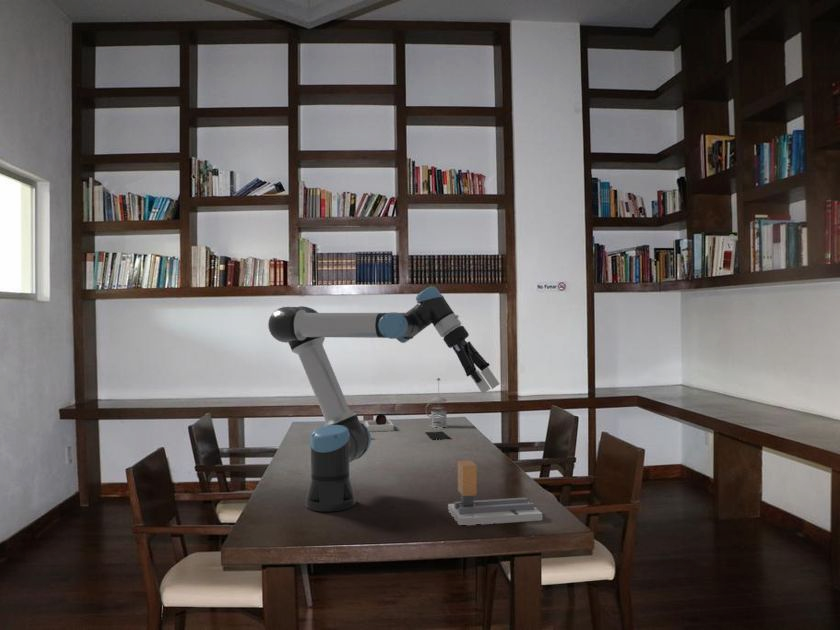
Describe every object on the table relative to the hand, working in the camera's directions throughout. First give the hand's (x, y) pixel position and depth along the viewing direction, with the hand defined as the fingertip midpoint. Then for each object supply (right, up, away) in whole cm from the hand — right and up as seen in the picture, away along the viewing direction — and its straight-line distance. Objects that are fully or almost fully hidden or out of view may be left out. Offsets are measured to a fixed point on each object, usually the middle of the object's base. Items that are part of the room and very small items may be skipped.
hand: (491, 388), depth 196 cm
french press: (-13, -35, +136) cm, 141 cm away
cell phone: (-13, -36, +111) cm, 117 cm away
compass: (-42, -36, +131) cm, 142 cm away
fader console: (0, -36, -9) cm, 37 cm away
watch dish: (-42, -35, +131) cm, 142 cm away
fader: (-8, -33, -10) cm, 36 cm away
